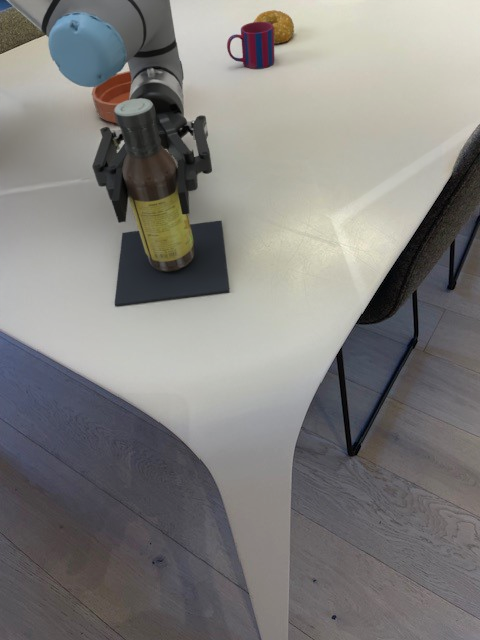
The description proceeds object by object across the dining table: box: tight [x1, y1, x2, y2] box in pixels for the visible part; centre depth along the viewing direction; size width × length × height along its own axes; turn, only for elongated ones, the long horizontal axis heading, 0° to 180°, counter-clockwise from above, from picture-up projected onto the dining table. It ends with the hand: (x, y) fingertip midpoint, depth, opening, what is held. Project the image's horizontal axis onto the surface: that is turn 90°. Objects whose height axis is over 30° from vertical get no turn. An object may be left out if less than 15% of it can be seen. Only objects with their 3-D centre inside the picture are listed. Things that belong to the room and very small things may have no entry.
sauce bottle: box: [114, 98, 194, 272], centre depth 57 cm, size 6×6×20 cm
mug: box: [226, 21, 275, 70], centre depth 103 cm, size 7×10×7 cm
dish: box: [91, 70, 131, 125], centre depth 94 cm, size 15×15×4 cm
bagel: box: [253, 9, 295, 45], centre depth 112 cm, size 10×11×5 cm
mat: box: [114, 220, 230, 307], centre depth 64 cm, size 14×14×1 cm
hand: (151, 207), depth 52 cm, fingers closed on sauce bottle, 6 cm apart
